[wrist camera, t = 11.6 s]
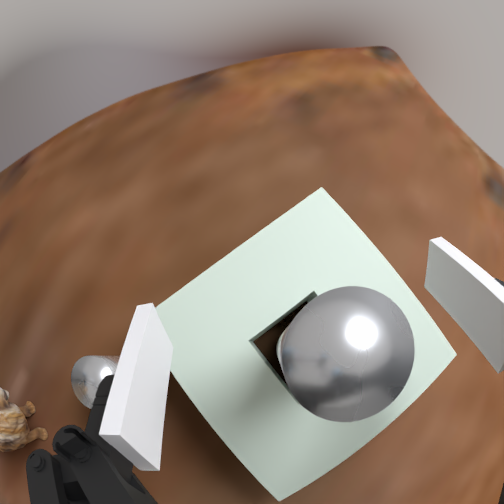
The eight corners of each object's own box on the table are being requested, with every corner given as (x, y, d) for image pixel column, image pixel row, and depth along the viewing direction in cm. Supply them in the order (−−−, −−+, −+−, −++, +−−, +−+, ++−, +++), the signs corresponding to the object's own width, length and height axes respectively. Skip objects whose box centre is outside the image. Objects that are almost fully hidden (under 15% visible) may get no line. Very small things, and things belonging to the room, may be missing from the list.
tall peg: (266, 344, 20) (252, 344, 6) (304, 315, 20) (360, 259, 7) (295, 380, 19) (336, 448, 6) (332, 351, 19) (436, 357, 6)
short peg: (110, 368, 20) (63, 371, 14) (140, 347, 20) (97, 345, 15) (132, 404, 19) (89, 418, 13) (163, 384, 19) (125, 395, 14)
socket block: (161, 325, 21) (138, 320, 17) (314, 213, 22) (321, 187, 19) (278, 476, 17) (278, 501, 13) (428, 354, 18) (456, 354, 15)
